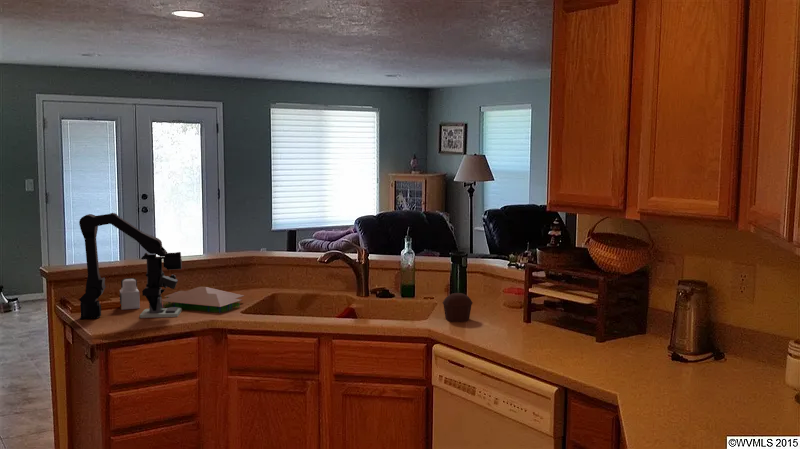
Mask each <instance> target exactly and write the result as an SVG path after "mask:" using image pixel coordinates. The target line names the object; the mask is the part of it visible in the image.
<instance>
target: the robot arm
mask: <svg viewBox="0 0 800 449" xmlns="http://www.w3.org/2000/svg"><path fill="white" fill-rule="evenodd" d="M78 223H79V227H80V232H81V234H82V236H83V239H84V247H85V258H86V260H85V261H86V269H87V279H86V284H85V290H84V291H85V293H84V294H83V295H82V296H81V297H79V301H80V302H79V304H80V316H79V320H87V319H89V320H91V319H92V320H94V319H99V318H100V317H101V316H102V304H101V303H100V300H99V298H100V297H101V295H103V293H104V292H105V289H106V287H107V286H106V277H101V274H100V268H99V267H100V266H99V255H98V244H97V234H98V228H99V226H105V225H112V226H113V227H114V228H116V229H118V230H119V231H121V232H122V233H124V234H125V235H127V236H129V237H130V238H132V239H133V240H134V241H136V242H137V243H138V244H139V245H140V246H141V247H142V248H143V249H144V250H145V251H146V252H145V253H144V254H143V256H141V257H140V259H141V260H146V273H145V277H146V284H145V288H143V289H142V290H141V291H142V294H141V295H142V296H144V297H146V300H147V301H148V303H150V305H151V307H152V309H153V311H156V308H157V302H158V297H159V296H162V294H163V293H164V292H165V291H166V288H170V289H172V290H175V288H176V287H177V284H178V278H177V276H176V275H175V274H171V275H170V276H169V275H167V276H166V275H165V272H164V271H163V268H165V269H166V270H167V271H169V270H174V271H175V270H182V268H183V259H182V253H181V252H180V251H178V252H168V251H167V250H166V249H165V247H164V246H163V244H162V240H161V239H159V238H158V237H156V236H153V235H150V234H148V233H145V232H144V231H142V230H140V229H139V228H137V227H136V226H134V225H133V224H132V223H130V222H128V221H126V220H125V219H123V218H122V217H120V216H119V215H118V214H117V213H115V212H110V213H107V214H100V215H99V214H98V215H94V214H92V213H91V214H90V213H89V214H85V215H83V216H82V217H80V219H79V222H78ZM162 288H163V289H162Z"/></svg>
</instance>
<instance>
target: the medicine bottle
mask: <svg viewBox="0 0 800 449" xmlns="http://www.w3.org/2000/svg"><path fill="white" fill-rule="evenodd" d="M120 282H121V284H120V285H121V286H120V287H121V289H119V305H120V304H121V307H120V309H121V310H123V311H125V310H134V309H136V310H137V309H140V308H141V305H140V304H141V302H140V298H141V297H140V291H139V289H138V279H137V278H133V277H131V278H123V279H122V280H121V281H120Z"/></svg>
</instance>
